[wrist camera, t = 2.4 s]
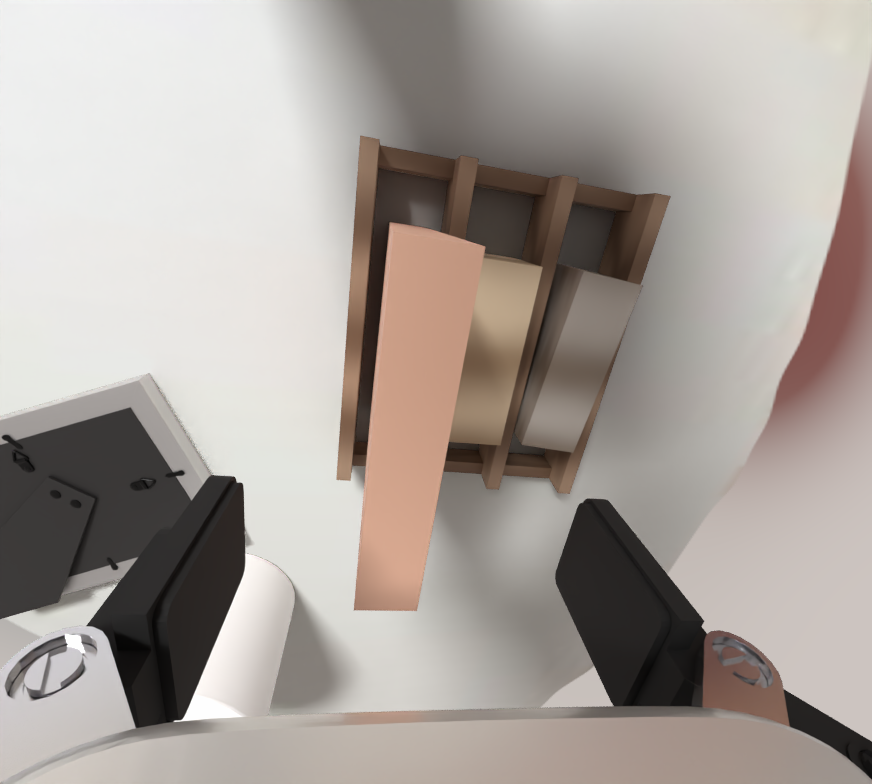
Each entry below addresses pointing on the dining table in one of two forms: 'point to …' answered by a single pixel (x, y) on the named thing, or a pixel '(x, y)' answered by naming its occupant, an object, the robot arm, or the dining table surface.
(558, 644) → the dining table surface
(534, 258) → the offcut rack
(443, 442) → the plywood sheet
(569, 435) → the grey offcut
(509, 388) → the birch offcut
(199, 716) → the cup
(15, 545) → the picture frame
